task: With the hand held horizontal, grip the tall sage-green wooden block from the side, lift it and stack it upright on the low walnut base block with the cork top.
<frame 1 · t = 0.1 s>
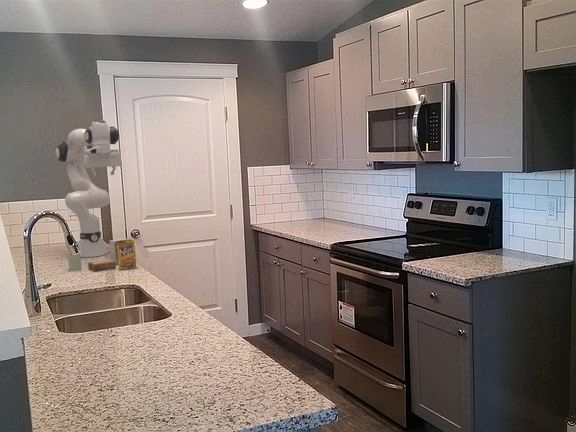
hand: (104, 175, 323), 48 cm above the worktop, tool pointing down, fingers open, 8 cm apart
base: (102, 268, 309), on the worktop
candy box: (127, 268, 307), on the worktop
small box: (120, 263, 323), on the worktop
block: (75, 269, 310), on the worktop
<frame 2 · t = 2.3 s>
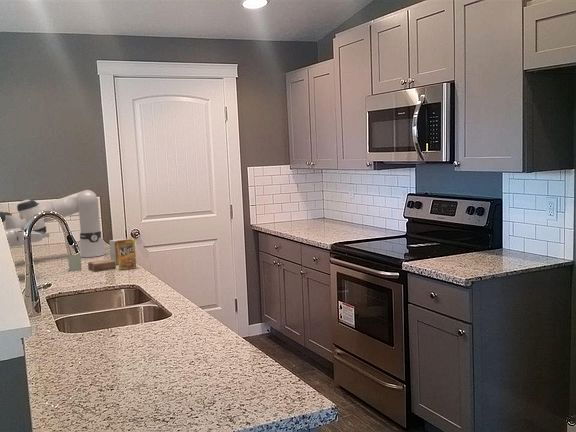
hand: (46, 234, 300), 20 cm above the worktop, tool horizontal, fingers open, 8 cm apart
nothing on the worktop moved.
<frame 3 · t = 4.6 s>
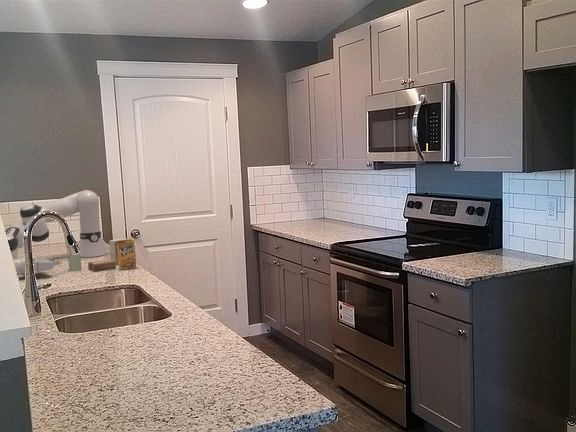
hand: (57, 261, 304), 6 cm above the worktop, tool horizontal, fingers open, 8 cm apart
nothing on the worktop moved.
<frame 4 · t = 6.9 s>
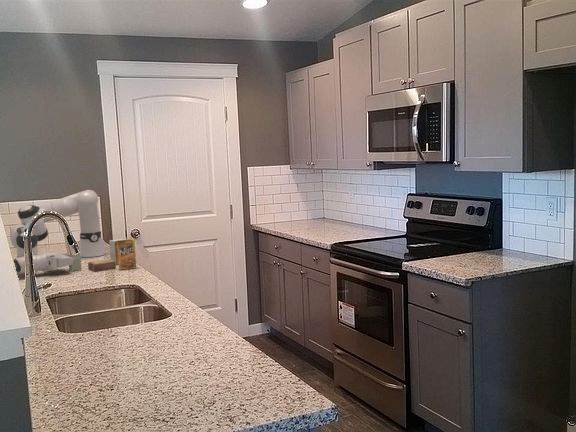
hand: (76, 257, 310), 7 cm above the worktop, tool horizontal, fingers closed on block, 4 cm apart
block: (75, 269, 310), on the worktop, touching gripper
everything else where it was.
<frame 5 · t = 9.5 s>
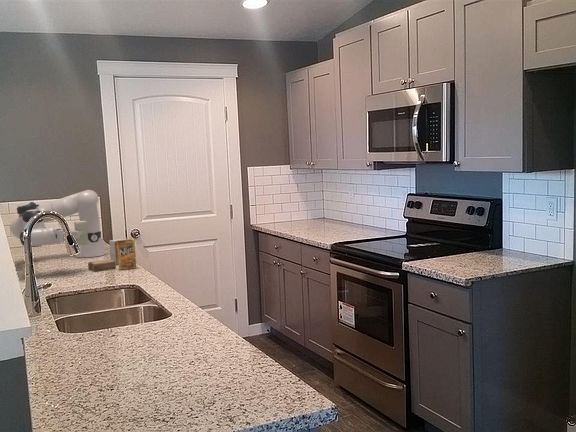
hand: (83, 231, 307), 20 cm above the worktop, tool horizontal, fingers closed on block, 4 cm apart
block: (82, 244, 307), point 13 cm above the worktop, touching gripper
everything else where it was.
when the fingers open (11 cm above the worktop, at t = 12.4 s): block stays where it is, resting on base.
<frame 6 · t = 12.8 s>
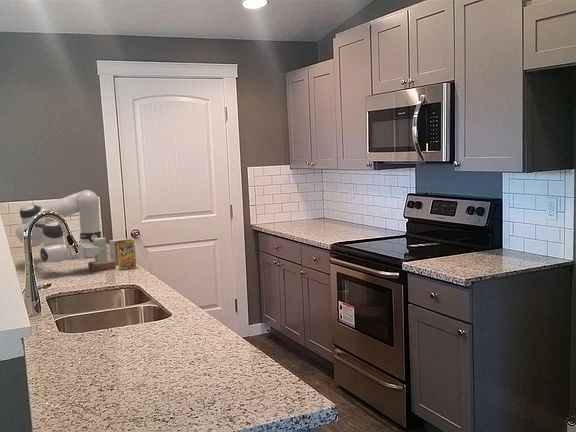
hand: (102, 247, 308), 11 cm above the worktop, tool horizontal, fingers open, 8 cm apart
block: (101, 261, 309), point 4 cm above the worktop, touching base
everything else where it was.
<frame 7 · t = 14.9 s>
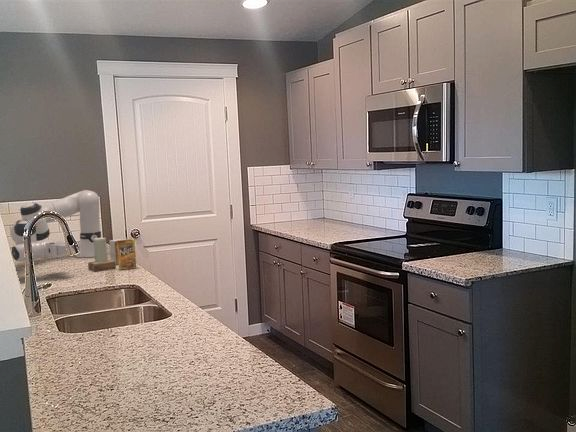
hand: (76, 245, 300), 14 cm above the worktop, tool horizontal, fingers open, 8 cm apart
nothing on the worktop moved.
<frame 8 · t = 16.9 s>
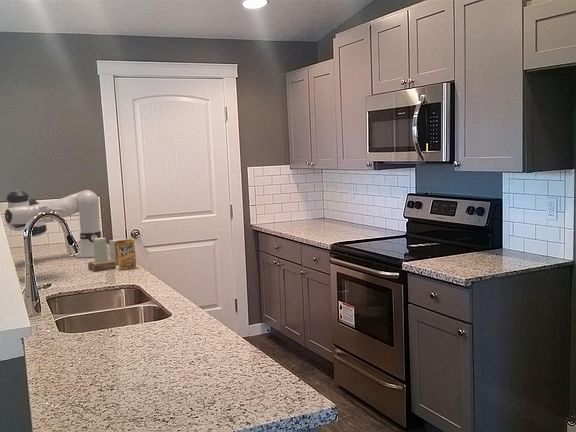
hand: (70, 210, 299), 32 cm above the worktop, tool horizontal, fingers open, 8 cm apart
nothing on the worktop moved.
at the end: block inside the target area on the base (0.1 cm from its centre), point 4.0 cm above the base's base; block tilted 0°; the gripper is holding nothing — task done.
